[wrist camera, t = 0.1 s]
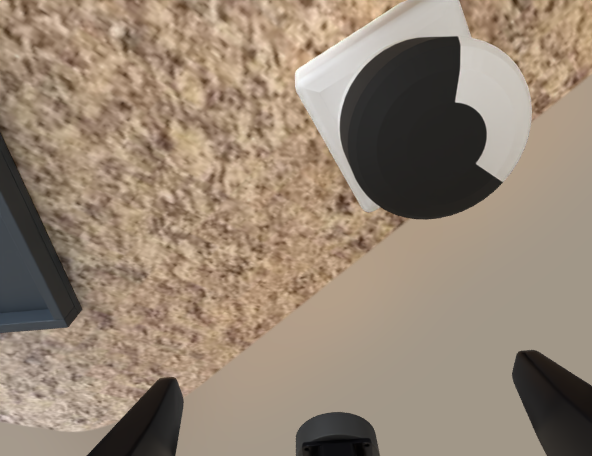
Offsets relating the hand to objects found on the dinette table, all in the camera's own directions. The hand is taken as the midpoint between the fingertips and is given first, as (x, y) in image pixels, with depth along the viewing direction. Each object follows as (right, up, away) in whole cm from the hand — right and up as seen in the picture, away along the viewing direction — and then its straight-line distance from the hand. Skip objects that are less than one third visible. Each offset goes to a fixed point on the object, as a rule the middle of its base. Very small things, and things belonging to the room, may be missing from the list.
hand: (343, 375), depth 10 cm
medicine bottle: (+3, +12, +13) cm, 18 cm away
